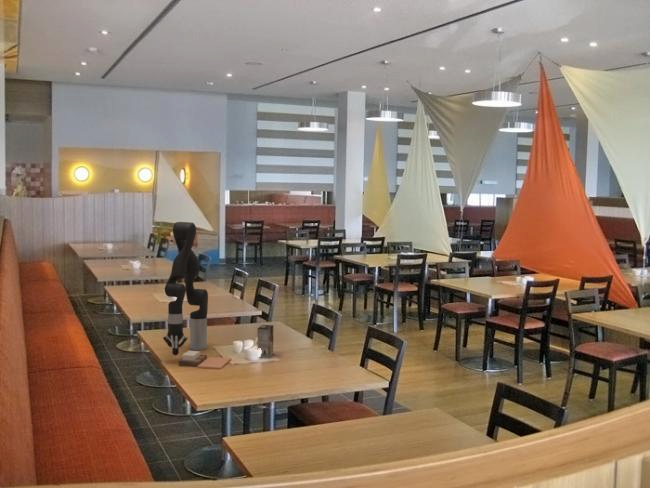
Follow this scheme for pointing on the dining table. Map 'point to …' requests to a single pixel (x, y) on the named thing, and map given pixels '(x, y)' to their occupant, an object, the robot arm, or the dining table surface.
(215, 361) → the terracotta mat
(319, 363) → the dining table surface
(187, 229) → the robot arm
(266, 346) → the coffee box
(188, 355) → the cream tile
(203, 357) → the walnut deck
